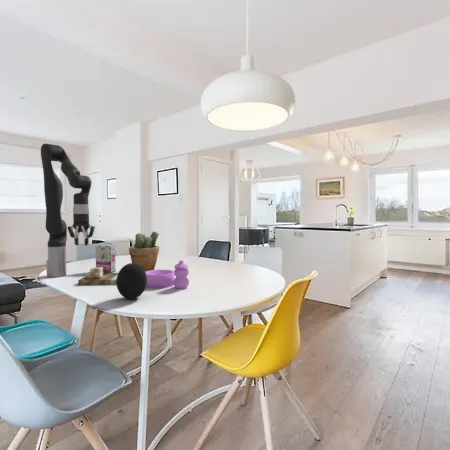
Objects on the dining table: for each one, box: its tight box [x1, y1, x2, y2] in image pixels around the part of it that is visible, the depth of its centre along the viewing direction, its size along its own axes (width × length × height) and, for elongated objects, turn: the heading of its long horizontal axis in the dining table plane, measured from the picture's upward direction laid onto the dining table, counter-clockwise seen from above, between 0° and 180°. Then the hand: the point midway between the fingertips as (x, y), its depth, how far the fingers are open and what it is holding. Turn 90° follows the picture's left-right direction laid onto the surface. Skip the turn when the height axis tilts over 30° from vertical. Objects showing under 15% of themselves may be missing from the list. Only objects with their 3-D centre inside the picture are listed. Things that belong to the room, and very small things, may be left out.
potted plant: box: [128, 231, 160, 272], centre depth 187 cm, size 18×19×25 cm
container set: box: [146, 260, 190, 290], centre depth 151 cm, size 25×15×13 cm, turn 63°
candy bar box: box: [95, 244, 116, 273], centre depth 188 cm, size 11×5×16 cm, turn 73°
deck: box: [77, 272, 119, 286], centre depth 162 cm, size 24×18×5 cm
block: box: [89, 266, 104, 277], centre depth 162 cm, size 5×5×4 cm
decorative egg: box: [115, 262, 147, 300], centre depth 128 cm, size 12×12×15 cm
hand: (81, 245), depth 160 cm, fingers open, 4 cm apart
